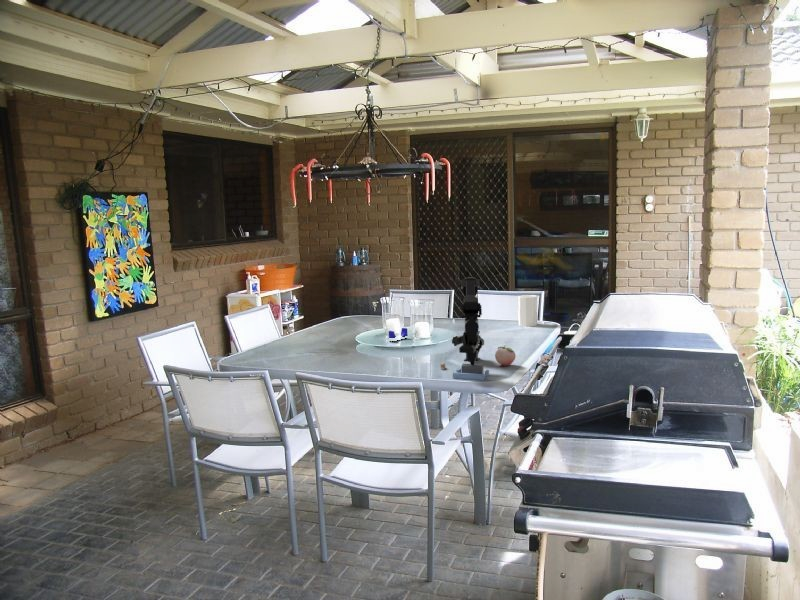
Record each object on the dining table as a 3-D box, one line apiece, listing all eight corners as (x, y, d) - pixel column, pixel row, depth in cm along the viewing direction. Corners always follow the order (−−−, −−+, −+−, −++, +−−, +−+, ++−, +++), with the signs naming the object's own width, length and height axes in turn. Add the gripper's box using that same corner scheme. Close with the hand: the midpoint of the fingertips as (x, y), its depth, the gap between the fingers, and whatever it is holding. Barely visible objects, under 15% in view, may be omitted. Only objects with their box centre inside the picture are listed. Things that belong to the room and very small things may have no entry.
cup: (538, 324, 383) (538, 295, 380) (535, 328, 372) (535, 297, 370) (520, 324, 387) (519, 294, 384) (517, 327, 376) (516, 297, 374)
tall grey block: (463, 374, 273) (462, 363, 273) (483, 375, 271) (483, 363, 270) (461, 377, 269) (461, 365, 269) (482, 377, 267) (482, 366, 266)
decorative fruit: (491, 367, 283) (490, 345, 282) (501, 363, 289) (500, 342, 288) (509, 370, 277) (508, 348, 275) (518, 366, 283) (518, 344, 281)
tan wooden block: (442, 368, 285) (442, 362, 285) (471, 369, 280) (471, 364, 280) (440, 369, 282) (440, 364, 282) (470, 371, 277) (469, 365, 277)
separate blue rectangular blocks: (458, 373, 274) (458, 368, 274) (489, 375, 269) (489, 369, 268) (452, 378, 266) (452, 372, 266) (484, 380, 261) (484, 374, 261)
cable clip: (402, 337, 361) (401, 327, 360) (407, 338, 358) (407, 328, 357) (387, 341, 353) (386, 330, 352) (392, 342, 349) (392, 331, 349)
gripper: (459, 325, 279) (460, 359, 281) (447, 332, 262) (448, 369, 264) (484, 325, 275) (484, 360, 277) (472, 333, 258) (473, 370, 260)
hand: (472, 364), depth 269 cm, fingers closed, pressing on tall grey block
